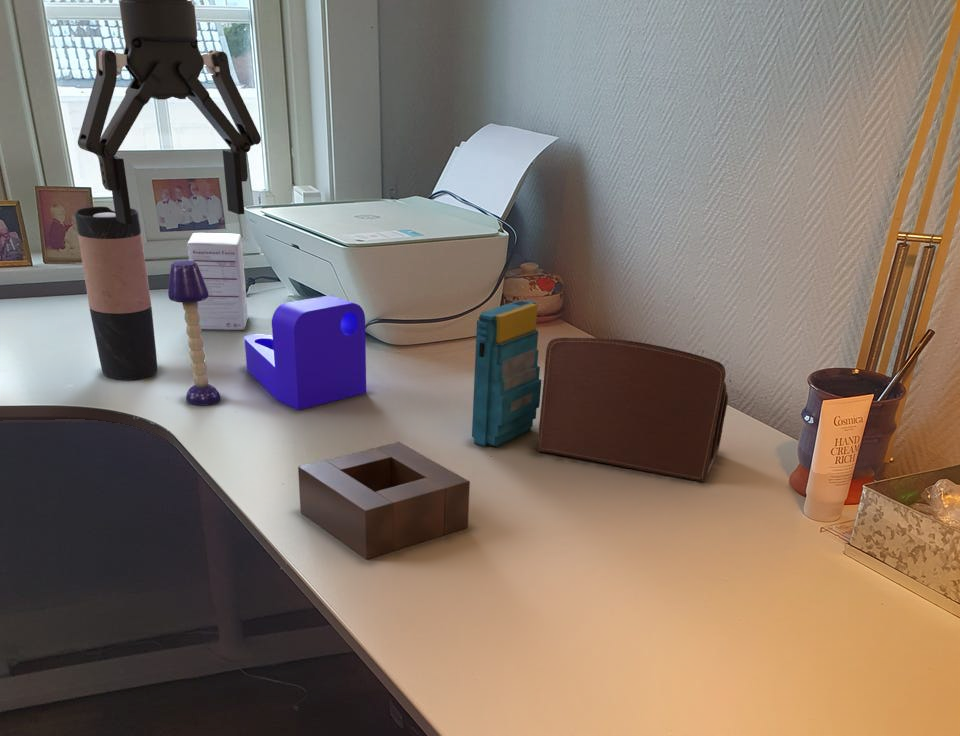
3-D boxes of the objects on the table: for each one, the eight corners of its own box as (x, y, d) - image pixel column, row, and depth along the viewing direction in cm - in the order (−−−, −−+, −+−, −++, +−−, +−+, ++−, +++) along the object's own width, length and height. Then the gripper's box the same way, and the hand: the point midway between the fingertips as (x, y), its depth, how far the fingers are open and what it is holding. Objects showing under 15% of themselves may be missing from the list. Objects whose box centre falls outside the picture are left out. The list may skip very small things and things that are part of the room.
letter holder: (705, 483, 110) (728, 357, 102) (535, 453, 115) (545, 331, 107) (718, 452, 118) (741, 333, 110) (559, 425, 123) (570, 309, 115)
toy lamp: (206, 409, 122) (190, 268, 113) (173, 403, 123) (155, 263, 114) (227, 397, 126) (213, 260, 117) (195, 391, 127) (180, 255, 118)
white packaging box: (201, 316, 156) (192, 231, 149) (249, 317, 157) (242, 233, 150) (195, 329, 150) (185, 242, 143) (245, 330, 151) (237, 243, 144)
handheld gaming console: (512, 421, 123) (521, 297, 115) (540, 429, 122) (551, 304, 113) (467, 442, 117) (472, 313, 108) (495, 451, 115) (503, 321, 107)
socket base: (366, 559, 91) (365, 510, 89) (300, 512, 99) (297, 466, 96) (468, 527, 98) (470, 481, 95) (398, 485, 106) (398, 441, 103)
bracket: (366, 392, 130) (364, 300, 123) (298, 410, 123) (292, 314, 117) (285, 358, 140) (280, 272, 134) (219, 373, 134) (210, 283, 127)
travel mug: (115, 384, 128) (89, 219, 117) (90, 368, 133) (63, 209, 122) (170, 374, 132) (149, 214, 122) (144, 359, 137) (122, 204, 126)
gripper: (45, -9, 92) (86, 232, 104) (282, 1, 106) (294, 213, 117) (19, -10, 97) (60, 220, 109) (248, -1, 111) (263, 203, 122)
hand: (182, 217), depth 113 cm, fingers open, 13 cm apart
